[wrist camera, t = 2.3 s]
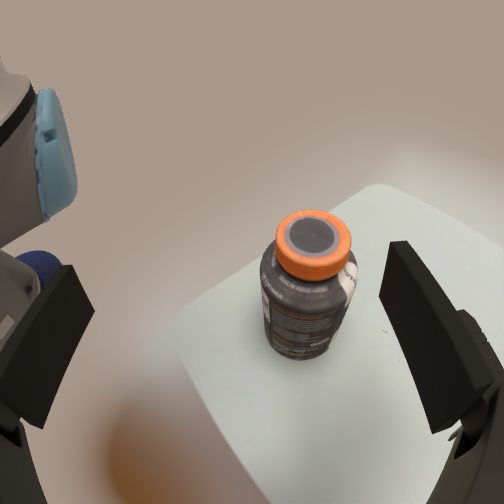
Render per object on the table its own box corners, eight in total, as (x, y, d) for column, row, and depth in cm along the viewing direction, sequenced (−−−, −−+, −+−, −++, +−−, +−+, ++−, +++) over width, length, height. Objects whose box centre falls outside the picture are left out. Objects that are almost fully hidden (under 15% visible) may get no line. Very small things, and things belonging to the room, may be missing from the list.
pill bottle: (349, 325, 23) (390, 232, 14) (302, 376, 21) (324, 307, 12) (297, 285, 26) (306, 183, 17) (249, 328, 24) (231, 235, 15)
